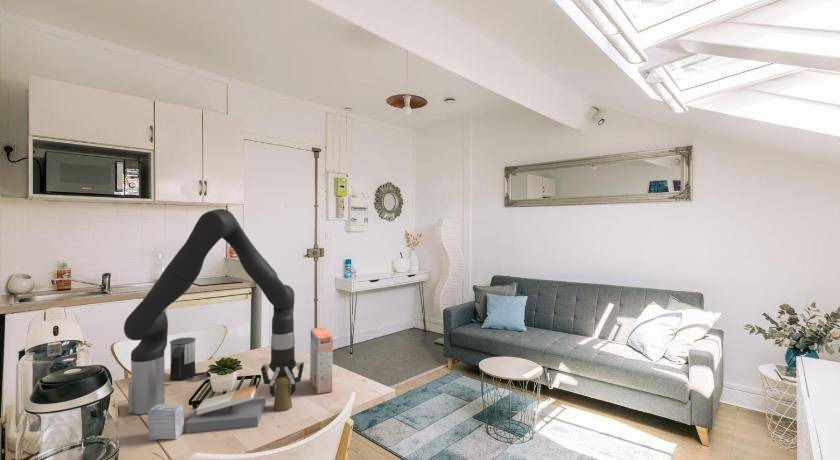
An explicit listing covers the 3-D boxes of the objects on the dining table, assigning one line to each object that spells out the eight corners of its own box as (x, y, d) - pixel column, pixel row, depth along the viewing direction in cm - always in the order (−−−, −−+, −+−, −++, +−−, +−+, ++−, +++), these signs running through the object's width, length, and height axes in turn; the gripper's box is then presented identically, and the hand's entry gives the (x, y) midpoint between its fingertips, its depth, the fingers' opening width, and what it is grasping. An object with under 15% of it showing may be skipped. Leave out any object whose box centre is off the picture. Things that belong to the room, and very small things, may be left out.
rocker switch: (197, 414, 120) (196, 409, 120) (204, 404, 127) (203, 399, 127) (252, 399, 124) (250, 394, 124) (256, 390, 131) (255, 385, 130)
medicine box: (184, 432, 118) (184, 403, 118) (175, 440, 114) (175, 410, 113) (157, 432, 118) (157, 403, 118) (147, 440, 113) (147, 410, 113)
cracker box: (333, 392, 146) (333, 335, 145) (316, 395, 143) (316, 337, 143) (325, 378, 159) (325, 326, 158) (309, 380, 156) (309, 328, 156)
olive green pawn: (285, 401, 138) (285, 370, 138) (295, 406, 134) (295, 374, 134) (269, 407, 133) (269, 375, 133) (279, 413, 130) (279, 380, 129)
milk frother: (169, 375, 161) (169, 339, 160) (212, 367, 169) (212, 333, 169) (170, 387, 149) (169, 348, 148) (216, 378, 157) (216, 341, 157)
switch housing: (185, 433, 117) (185, 416, 117) (200, 412, 130) (200, 397, 130) (257, 426, 121) (257, 410, 121) (265, 406, 134) (265, 392, 134)
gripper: (258, 349, 128) (258, 401, 129) (304, 347, 131) (304, 397, 132) (262, 342, 136) (262, 391, 136) (305, 340, 139) (305, 388, 139)
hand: (282, 394), depth 134 cm, fingers open, 5 cm apart
